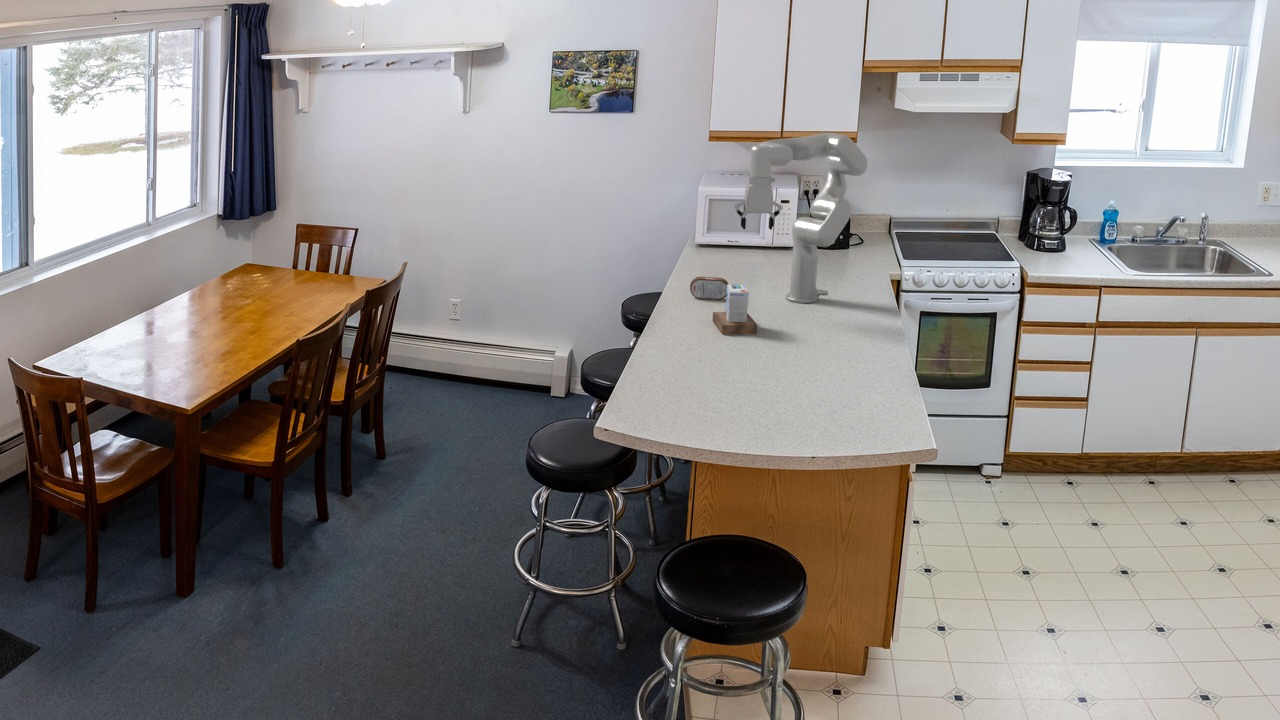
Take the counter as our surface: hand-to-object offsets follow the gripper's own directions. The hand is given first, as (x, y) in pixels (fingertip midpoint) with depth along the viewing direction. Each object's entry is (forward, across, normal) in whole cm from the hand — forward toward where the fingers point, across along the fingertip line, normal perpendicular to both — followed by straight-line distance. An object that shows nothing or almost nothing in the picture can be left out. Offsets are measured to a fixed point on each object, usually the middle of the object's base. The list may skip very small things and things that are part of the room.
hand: (756, 228), depth 371 cm
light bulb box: (+27, +10, +22) cm, 36 cm away
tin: (+31, +14, -15) cm, 37 cm away
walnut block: (+31, +10, +22) cm, 39 cm away
